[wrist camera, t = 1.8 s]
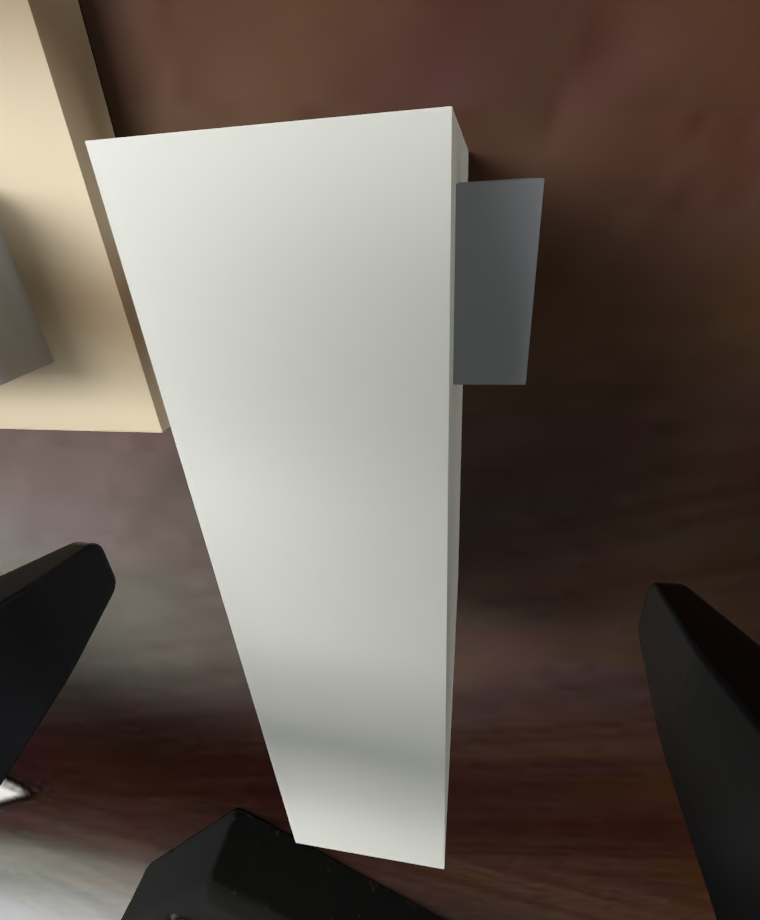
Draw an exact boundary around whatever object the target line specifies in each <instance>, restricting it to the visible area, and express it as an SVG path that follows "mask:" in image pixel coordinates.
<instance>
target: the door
mask: <svg viewBox="0 0 760 920" xmlns="http://www.w3.org/2000/svg"><path fill="white" fill-rule="evenodd" d="M85 143H86V147H87V150H88V153H89V157H90V160H91V163H92V167H93V170H94V173H95V177H96V180H97V183H98V187H99V190H100V193H101V197H102V200H103V203H104V207H105V210H106V213H107V217H108V220H109V223H110V227H111V230H112V233H113V237H114V240H115V243H116V247H117V250H118V253H119V256H120V260H121V263H122V266H123V270H124V273H125V276H126V280H127V283H128V286H129V290H130V293H131V296H132V300H133V303H134V306H135V310H136V313H137V316H138V320H139V323H140V326H141V330H142V333H143V336H144V340H145V343H146V346H147V350H148V353H149V356H150V360H151V363H152V366H153V370H154V373H155V376H156V380H157V383H158V386H159V390H160V393H161V396H162V400H163V403H164V406H165V410H166V413H167V416H168V420H169V423H170V426H171V430H172V433H173V436H174V440H175V443H176V446H177V450H178V453H179V456H180V460H181V463H182V466H183V469H184V473H185V476H186V479H187V483H188V486H189V489H190V493H191V496H192V499H193V503H194V506H195V509H196V513H197V516H198V519H199V523H200V526H201V529H202V533H203V536H204V539H205V543H206V546H207V549H208V553H209V556H210V559H211V563H212V566H213V569H214V573H215V576H216V579H217V583H218V586H219V589H220V593H221V596H222V599H223V603H224V606H225V609H226V613H227V616H228V619H229V623H230V626H231V629H232V633H233V636H234V639H235V643H236V646H237V649H238V653H239V656H240V659H241V663H242V666H243V669H244V673H245V676H246V679H247V682H248V686H249V689H250V692H251V696H252V699H253V702H254V706H255V709H256V712H257V716H258V719H259V722H260V726H261V729H262V732H263V736H264V739H265V742H266V746H267V749H268V752H269V756H270V759H271V762H272V766H273V769H274V772H275V776H276V779H277V782H278V786H279V789H280V792H281V796H282V799H283V802H284V806H285V809H286V812H287V816H288V819H289V822H290V826H291V829H292V832H293V836H294V839H295V842H296V843H300V844H305V845H311V846H317V847H322V848H328V849H333V850H339V851H345V852H350V853H356V854H361V855H367V856H373V857H378V858H384V859H389V860H395V861H401V862H406V863H412V864H417V865H423V866H429V867H434V868H440V869H444V863H445V842H446V821H447V800H448V779H449V758H450V737H451V716H452V695H453V674H454V653H455V632H456V611H457V590H458V559H459V518H460V478H461V437H462V397H463V385H526V375H527V364H528V353H529V342H530V331H531V321H532V310H533V299H534V288H535V277H536V266H537V255H538V244H539V233H540V222H541V211H542V201H543V190H544V179H545V178H520V179H505V180H490V181H476V182H468V153H469V151H468V149H467V146H466V143H465V141H464V138H463V135H462V132H461V130H460V127H459V124H458V122H457V119H456V116H455V113H454V111H453V108H452V106H448V107H438V108H427V109H417V110H406V111H396V112H385V113H374V114H364V115H353V116H343V117H332V118H321V119H311V120H300V121H290V122H279V123H269V124H258V125H247V126H237V127H226V128H216V129H205V130H194V131H184V132H173V133H163V134H152V135H142V136H131V137H120V138H110V139H99V140H89V141H85Z"/></svg>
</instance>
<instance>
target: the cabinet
mask: <svg viewBox="0 0 760 920" xmlns="http://www.w3.org/2000/svg"><path fill="white" fill-rule="evenodd" d="M110 138H115V134H114V131H113V127H112V123H111V120H110V116H109V112H108V109H107V105H106V101H105V98H104V94H103V90H102V87H101V83H100V79H99V76H98V72H97V68H96V65H95V61H94V58H93V54H92V50H91V47H90V43H89V39H88V36H87V32H86V28H85V25H84V21H83V17H82V14H81V10H80V6H79V3H78V0H0V429H38V430H78V431H119V432H159V433H162V432H164V431H165V430H166V429H167V428H169V427H170V423H169V420H168V416H167V413H166V410H165V406H164V403H163V400H162V396H161V393H160V390H159V386H158V383H157V380H156V376H155V373H154V370H153V366H152V363H151V360H150V356H149V353H148V350H147V346H146V343H145V340H144V336H143V333H142V330H141V326H140V323H139V320H138V316H137V313H136V310H135V306H134V303H133V300H132V296H131V293H130V290H129V286H128V283H127V280H126V276H125V273H124V270H123V266H122V263H121V260H120V256H119V253H118V250H117V247H116V243H115V240H114V237H113V233H112V230H111V227H110V223H109V220H108V217H107V213H106V210H105V207H104V203H103V200H102V197H101V193H100V190H99V187H98V183H97V180H96V177H95V173H94V170H93V167H92V163H91V160H90V157H89V153H88V150H87V147H86V143H85V141H89V140H99V139H110Z"/></svg>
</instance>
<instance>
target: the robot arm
mask: <svg viewBox="0 0 760 920" xmlns="http://www.w3.org/2000/svg"><path fill="white" fill-rule="evenodd" d="M115 583H116V581H115V576H114V574H113V571H112V569H111V567H110V565H109V562H108V560H107V558H106V555H105V553H104V551H103V549H102V547H101V546H99V545H98V544H95V543H84V542H75V543H71V544H69V545H67V546H65V547H63V548H60V549H58V550H56V551H54V552H52V553H50V554H47V555H45V556H43V557H41V558H39V559H37V560H34V561H32V562H30V563H28V564H26V565H24V566H21V567H19V568H17V569H15V570H13V571H11V572H8V573H6V574H4V575H2V576H0V785H1V784H2V782H3V780H4V779H5V777H6V776H7V774H8V773H9V771H10V769H11V768H12V766H13V765H14V763H15V761H16V760H17V758H18V757H19V755H20V754H21V752H22V750H23V749H24V747H25V746H26V744H27V743H28V741H29V739H30V738H31V736H32V735H33V733H34V732H35V730H36V728H37V727H38V725H39V724H40V722H41V720H42V719H43V717H44V716H45V714H46V713H47V711H48V709H49V708H50V706H51V705H52V703H53V702H54V700H55V698H56V697H57V695H58V694H59V692H60V691H61V689H62V687H63V686H64V684H65V683H66V681H67V679H68V678H69V676H70V674H71V673H72V671H73V669H74V667H75V665H76V664H77V662H78V660H79V658H80V656H81V654H82V652H83V650H84V648H85V646H86V644H87V643H88V641H89V639H90V637H91V635H92V633H93V631H94V629H95V627H96V625H97V623H98V621H99V619H100V617H101V615H102V614H103V612H104V610H105V608H106V606H107V604H108V602H109V600H110V598H111V596H112V594H113V592H114V589H115ZM639 639H640V644H641V649H642V654H643V659H644V664H645V669H646V674H647V678H648V683H649V688H650V693H651V698H652V703H653V708H654V713H655V718H656V723H657V728H658V732H659V737H660V741H661V745H662V748H663V752H664V755H665V759H666V762H667V765H668V768H669V771H670V775H671V778H672V781H673V784H674V787H675V790H676V793H677V796H678V800H679V803H680V806H681V809H682V812H683V815H684V818H685V821H686V825H687V828H688V831H689V834H690V837H691V840H692V843H693V846H694V850H695V853H696V856H697V859H698V862H699V865H700V868H701V871H702V875H703V878H704V881H705V884H706V887H707V890H708V893H709V896H710V900H711V903H712V906H713V909H714V912H715V915H716V918H717V920H760V645H758V644H757V643H756V642H755V641H753V640H752V639H751V638H750V637H749V636H747V635H746V634H745V633H744V632H742V631H741V630H740V629H739V628H737V627H736V626H735V625H734V624H733V623H731V622H730V621H729V620H728V619H726V618H725V617H724V616H723V615H721V614H720V613H719V612H718V611H717V610H715V609H714V608H713V607H712V606H710V605H709V604H708V603H707V602H706V601H704V600H703V599H702V598H701V597H699V596H698V595H697V594H696V593H694V592H693V591H692V590H691V589H689V588H688V587H687V586H685V585H682V584H675V583H661V582H656V583H653V584H652V585H651V586H650V588H649V590H648V593H647V597H646V600H645V604H644V607H643V611H642V614H641V618H640V621H639Z"/></svg>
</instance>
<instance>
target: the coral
mask: <svg viewBox="0 0 760 920" xmlns="http://www.w3.org/2000/svg"><path fill="white" fill-rule="evenodd" d="M121 920H445V919H443V918H441V917H439V916H437V915H435V914H433V913H432V912H430V911H428V910H426V909H425V908H423V907H421V906H419V905H417V904H415V903H413V902H411V901H409V900H407V899H406V898H404V897H402V896H400V895H398V894H396V893H394V892H392V891H390V890H388V889H387V888H385V887H383V886H381V885H379V884H378V883H376V882H373V881H372V880H370V879H368V878H366V877H364V876H363V875H361V874H359V873H357V872H355V871H354V870H351V869H349V868H348V867H346V866H344V865H342V864H340V863H339V862H337V861H335V860H333V859H331V858H329V857H327V856H325V855H324V854H322V853H320V852H318V851H316V850H314V849H312V848H311V847H309V846H307V845H305V844H300V843H296V842H295V839H294V838H292V837H291V836H289V835H287V834H285V833H283V832H281V831H279V830H277V829H276V828H274V827H272V826H270V825H268V824H266V823H265V822H263V821H260V820H258V819H256V818H255V817H253V816H252V815H250V814H248V813H246V812H244V811H242V810H238V809H237V810H235V811H232V812H231V813H229V814H228V815H226V816H224V817H222V818H221V819H219V820H218V821H216V822H215V823H213V824H211V825H210V826H209V827H207V828H206V829H204V830H202V831H201V832H199V833H198V834H196V835H195V836H193V837H192V838H190V839H189V840H187V841H186V842H184V843H183V844H181V845H180V846H178V847H176V848H175V849H174V851H170V852H169V853H167V854H166V855H164V856H163V857H161V858H159V859H157V860H156V861H154V862H153V863H151V864H150V865H149V866H148V867H147V869H146V871H145V873H144V875H143V877H142V879H141V881H140V883H139V885H138V887H137V889H136V891H135V893H134V895H133V898H132V900H131V902H130V903H129V905H128V907H127V909H126V911H125V913H124V915H123V917H122V919H121Z"/></svg>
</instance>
